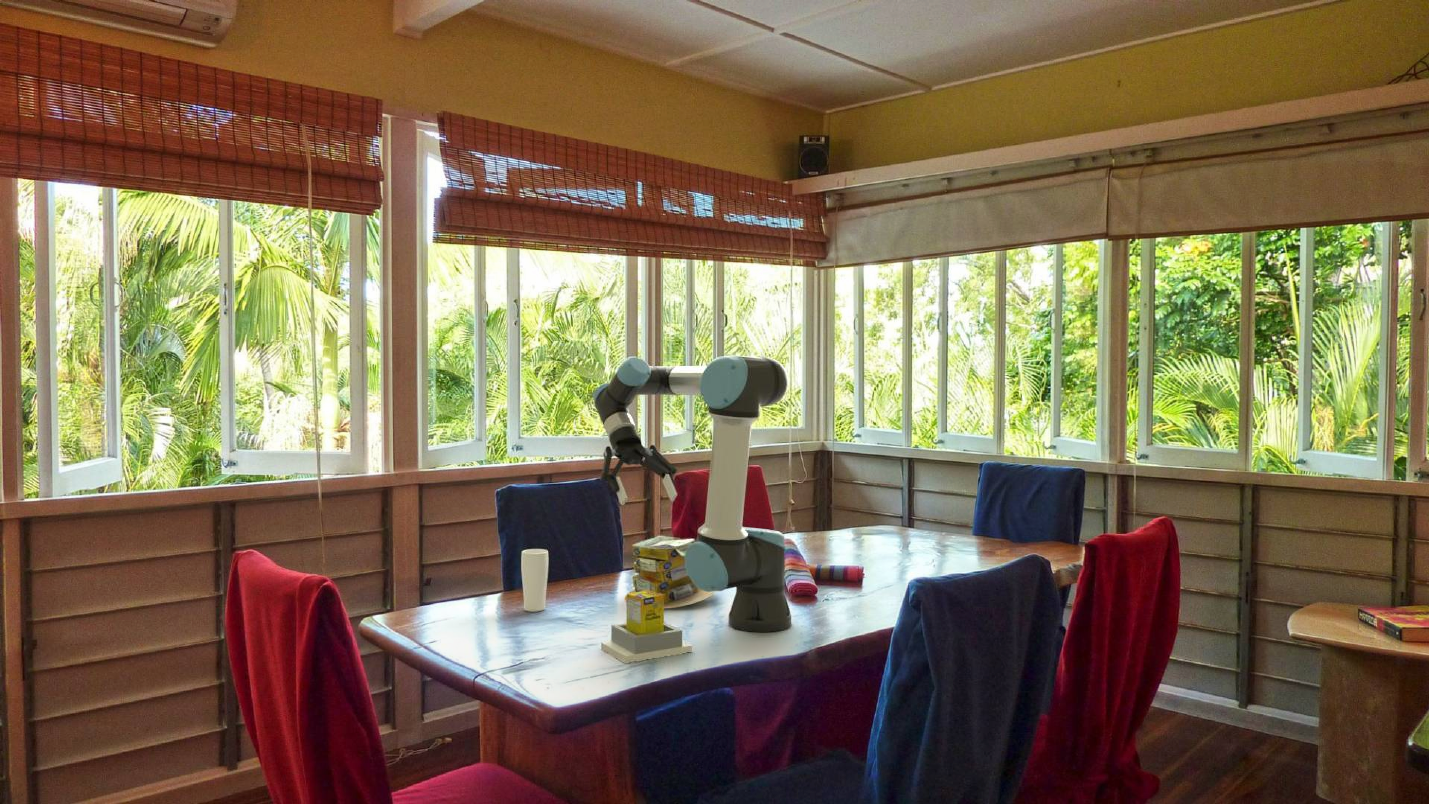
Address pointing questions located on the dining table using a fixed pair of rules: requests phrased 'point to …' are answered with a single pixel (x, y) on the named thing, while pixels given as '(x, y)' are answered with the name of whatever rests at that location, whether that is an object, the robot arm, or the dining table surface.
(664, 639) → the box holder
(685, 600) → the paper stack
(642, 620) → the supplement box
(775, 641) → the dining table surface
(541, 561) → the drinking glass
